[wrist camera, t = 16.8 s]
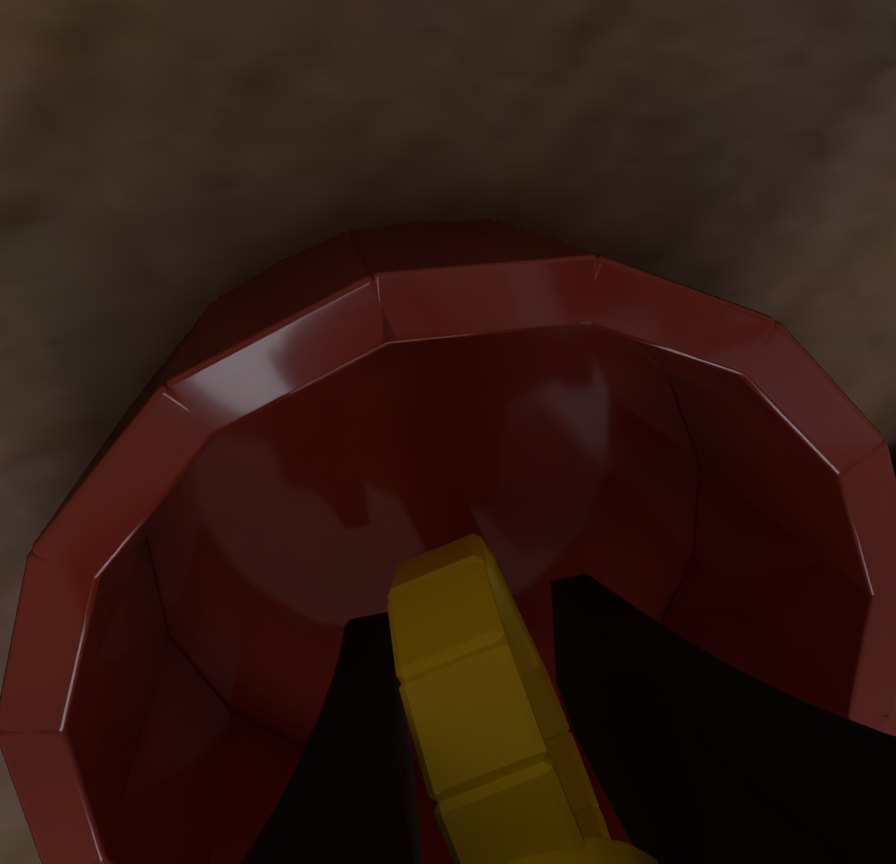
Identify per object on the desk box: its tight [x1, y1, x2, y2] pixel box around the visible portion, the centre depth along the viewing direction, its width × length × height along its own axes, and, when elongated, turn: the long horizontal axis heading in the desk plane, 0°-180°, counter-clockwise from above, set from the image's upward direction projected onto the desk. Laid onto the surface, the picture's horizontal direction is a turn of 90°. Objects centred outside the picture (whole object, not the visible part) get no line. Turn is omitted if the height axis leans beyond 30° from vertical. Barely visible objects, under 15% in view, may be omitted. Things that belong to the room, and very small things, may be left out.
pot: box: [0, 219, 896, 864], centre depth 13 cm, size 13×13×6 cm
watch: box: [387, 534, 659, 864], centre depth 11 cm, size 6×3×6 cm, turn 22°
